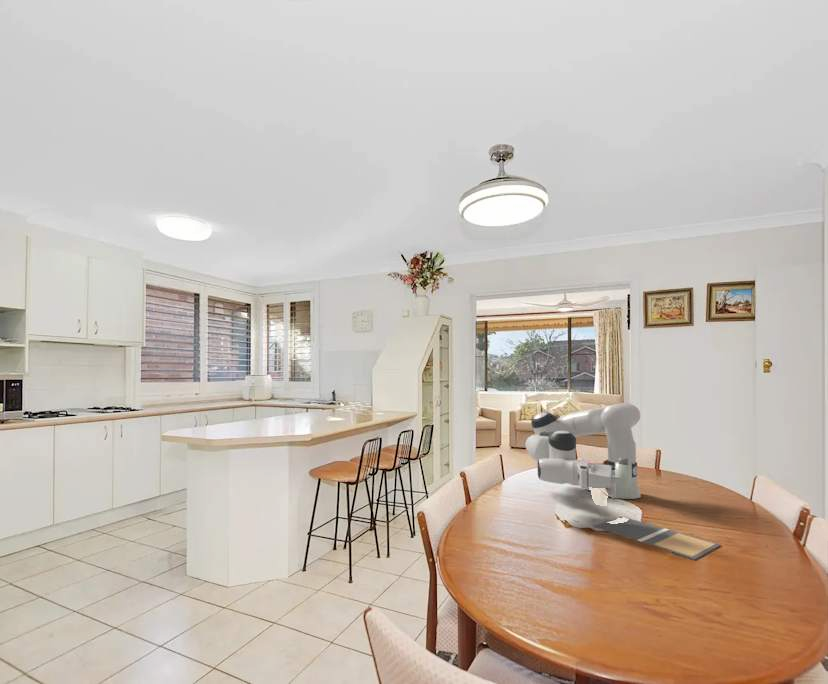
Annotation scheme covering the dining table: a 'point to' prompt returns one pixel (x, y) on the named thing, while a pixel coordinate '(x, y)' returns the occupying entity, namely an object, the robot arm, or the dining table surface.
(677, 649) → the dining table surface
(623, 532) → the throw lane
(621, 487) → the bottle
